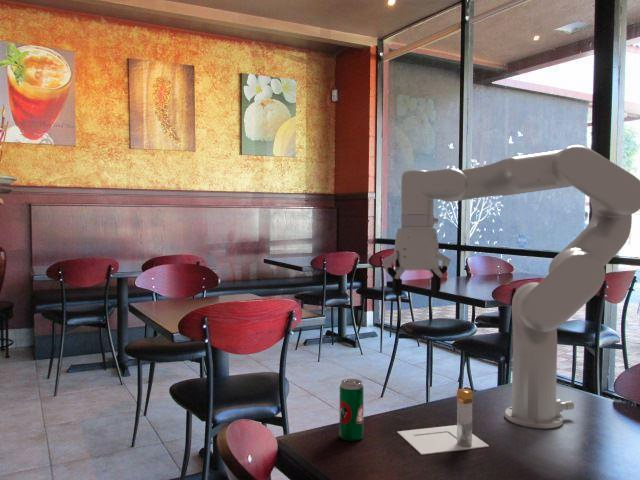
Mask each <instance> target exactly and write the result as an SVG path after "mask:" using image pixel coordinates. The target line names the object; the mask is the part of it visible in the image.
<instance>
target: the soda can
mask: <svg viewBox="0 0 640 480" xmlns="http://www.w3.org/2000/svg"><path fill="white" fill-rule="evenodd" d="M364 396H365V395H364V385H363V382H362V380H360V379H356V378H344V379H342V380H341V383H340V385H339V437H340V438H341V439H342V440H343V441H346V442H347V441H348V442H356V441H359V440H362V438H363V437H364V403H365V402H364Z"/></svg>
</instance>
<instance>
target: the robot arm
mask: <svg viewBox="0 0 640 480" xmlns="http://www.w3.org/2000/svg"><path fill="white" fill-rule="evenodd" d="M400 182H401V183H400V184H401V185H400V186H401V191H400V192H401V197H400V198H401V201H400V202H401V204H400V205H401V207H400V214H401V215H400V217H401V218H400V225H401V226H400V228H397V231H396V234H395V241H394V250H393V253H392V254H391V255H389V256H387V257H385V258H384V259H382V260H381V263H382V265H383V267H384V269H385V272H386V273H387V274H388V275H389V276H390V277H391V278H392V292H393V294H394V295H395V296H397V297H401V296H403V279H402V278H401V277H402V275H403V274H404V273H405V271H409V272H411V271H429V272H430V273H431V274H432V276H431V277H430V293H431V294H434V295H440V291H441V286H442V285H441V284H442V283H441V279H442V278H443V276H444V274H445V273H446V272H447V271H448V267H449V266H450V263H451V262H452V260H451V258H449V257H447V256H446V255H444V254H442V253H440V252H439V250H440V249H439V240H438V239H439V238H438V234H437V230H436V228H434V226H435V224H438V223H439V218H438V217H435V215H434V200H441V201H444V202H447V203H451V202H458V201H459V202H460V201H467V200H473V199H479V198H480V199H481V198H489V197H497V196H499V197H500V196H501V197H504V196H505V197H506V196H511V195H512V196H513V195H520V194H526V193H534V192H539V191H540V192H542V191H548V190H556V189H563V188H569V187H574V188H575V189H576V190H578V191H579V192H581V193H583V195H585V196H587V198H589V202H590V206H591V218H590V220H589V223H588V224H587V225H586V227H585V228H584V229H583V230H582V231H581V232H580V233H579V235H577V236H576V237H575V239H573V240H572V241H570V243H569V244H567V246H566V247H565V248H564V249H562V250H561V251H560V252H559V253H557V255H556V256H554V257H553V258H552V260H551V262H550V263H549V266H548V274H547V275H546V276H545V277H543V279H542V280H541V281H540V282H536V281H534V282H533V281H532V282H528V283H527V282H526V283H524V284H522V285H521V286H520V287H518V288H517V289H516V290H515V292H514V294H513V296H512V301H511V318H512V320H511V321H512V369H511V370H512V372H511V373H512V383H511V385H512V386H511V390H512V391H511V393H512V394H511V406H509V407H507V408H506V409H505V411H504V416H505V419H507V420H508V421H509V422H511V423H512V424H515V425H519V426H523V427H525V428H530V429H531V428H532V429H542V430H543V429H553V428H558V427H560V426H562V425H563V424H564V416H563V415H562V414H561V413H562V412H563V411H571V410H574V409H575V404H574V402H573V401H572V400H567V401H562V400H561V399H560V398H559V399H558V398H557V376H558V372H557V370H558V367H557V366H558V365H557V364H558V330H557V329H558V328H560V327H561V326H562V325H564V324H565V323H566V322H567V321H568V320H570V318H572V317H573V316H574V315H575V314H576V313H577V312H578V311H580V309H581V308H582V307H584V306H585V305H586V304H587V303H588V302H590V300H591V299H592V298H593V297H595V295H596V294H597V293H598V292H599V291H600V289H601V288H602V286H603V284H604V281H605V278H606V270H605V267H606V265H607V264H609V262H610V261H611V260H612V259H613V258H614V257H616V255H617V254H618V253H619V252H620V251H621V250H622V248H624V246H625V244H626V243H627V241H628V239H629V237H630V234H631V229H632V222H633V221H632V220H633V218H632V217H633V216H632V215H633V214H636V213H637V212H638V211H640V179H639V178H637V177H636V176H635V175H633V174H632V173H630V172H629V171H628V170H625V169H624V168H622V167H621V166H619V165H618V164H616V163H614V161H613V162H612V161H611V160H610V159H608V158H606V157H605V156H603V155H602V154H600V153H598V152H597V151H595V150H594V149H591V148H590V147H587V146H584V145H581V144H574V145H570V146H567V147H565V148H562V149H558V150H553V151H547V152H539V153H533V154H527V155H519V156H512V157H508V158H505V159H501V160H499V161H496V162H494V163H491V164H486V165H483V166H478V167H471V168H466V169H465V168H464V169H457V168H454V167H453V168H452V167H447V168H442V169H435V170H426V169H411V170H406V171H404V172H403V173H402V175H401V181H400ZM440 261H442V262H441V265H440ZM391 263H393V267H394V268H393V267H392V266H391ZM439 265H440V266H439Z"/></svg>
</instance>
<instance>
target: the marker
mask: <svg viewBox="0 0 640 480" xmlns="http://www.w3.org/2000/svg"><path fill="white" fill-rule="evenodd" d="M473 394H474V392H473V390H472V389H469V388H458V389H457V390H456V405H457V406H456V407H457V408H456V416H457V417H456V425H457V445H459V446H461V447H471V446H472V434H473V402H474V399H473V397H474V395H473Z"/></svg>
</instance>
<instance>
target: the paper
mask: <svg viewBox="0 0 640 480" xmlns="http://www.w3.org/2000/svg"><path fill="white" fill-rule="evenodd" d="M397 434H398V435H399V436H401V437H402V438H403V439H404V440H405V441H406V442H407V443H408V444H409V445H410V446H412V448H414V449H415V450H416V451H417V452H418V454H419V455H421V456H425V455H432V454H433V455H434V454H440V453H449V452H455V451H456V452H457V451H466V450H473V449H480V448H489V447H490V445H489V444H487V443H486V442H484V441H483V440H482V439H481V438H479V437H478V436H476V435H475V434H473V433H472V446H471V447H461V446H459V445H457V424H454V425H446V426H436V427H427V428H415V429H409V430H401V431H397Z"/></svg>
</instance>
